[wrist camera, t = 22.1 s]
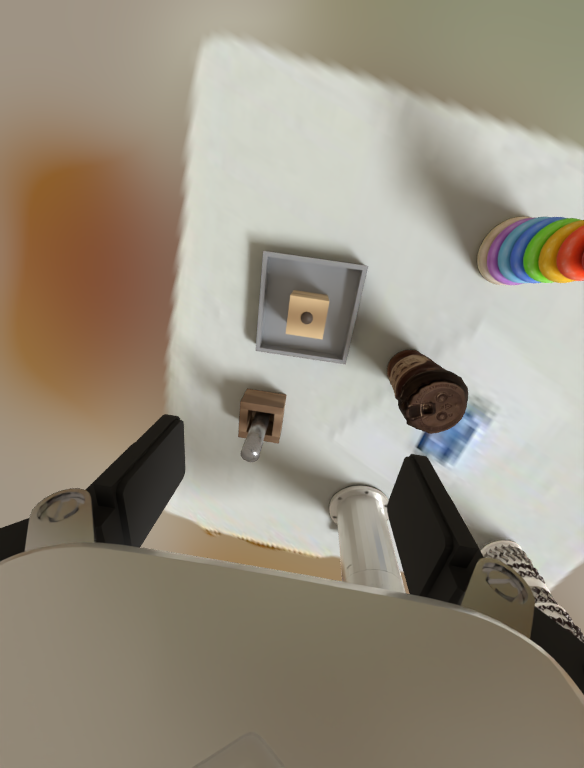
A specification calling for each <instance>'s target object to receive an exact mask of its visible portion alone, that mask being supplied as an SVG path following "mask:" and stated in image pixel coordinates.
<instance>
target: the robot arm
mask: <svg viewBox="0 0 584 768" xmlns="http://www.w3.org/2000/svg"><path fill="white" fill-rule="evenodd" d="M184 474H185V449H184V424H183V421H182V420H180V418H179V417H178V416H173V415H166V414H164V415H163V416H162V417H161V418H160V419H159V420H158V421H157V422H156V423H155V424H154V425H152V427H150V428H149V429H148V430H147V431H146V433H144V434H143V435H142V437H140V438H139V439H138V440H137V442H135V443H133V444H132V445H131V446H130V447H129V448H128V449H127V450H126V451H125V452H124V453H123V454H122V455H121V456H120V457H119V458H118V459H117V460H116V461H114V463H112V464H111V465H110V466H109V467H108V469H106V470H105V471H104V472H103V473H102V474H101V475H100V476H99V477H98V478H97V479H96V480H95V481H94V482H93V483H92V484H91V485H90V486H89V487H88V488H87V489H86V490H84V489H80V488H70V489H65V490H61V491H58V492H56V493H53V494H51V495H49V496H48V497H46V498H44V499H43V500H42V501H40V502H39V503H38V504H37V505H36V506H35V507H34V508H33V510H32V512H31V514H30V517H29V518H28V519H25V520H23V521H20V522H17V523H14V524H11V525H9V526H5V527H3V528H0V768H584V643H583V642H582V641H581V640H579V639H578V638H577V637H575V636H574V635H573V634H571V633H570V632H569V631H567V630H566V629H565V628H563V627H562V626H561V625H559V624H558V623H557V622H555V621H554V620H553V619H552V618H550V617H549V616H548V615H546V614H545V613H544V612H542V611H541V610H540V609H538V608H537V607H536V606H535V600H534V595H533V593H532V590H531V588H530V587H529V585H528V584H527V583H526V581H525V580H524V579H523V578H522V577H521V576H520V575H519V574H518V573H517V572H516V571H515V570H513V569H512V568H511V567H510V566H508V565H506V564H505V563H503V562H501V561H499V560H496V559H493V558H486V557H485V558H484V556H483V555H482V553H481V551H480V549H479V548H478V546H477V544H476V542H475V540H474V539H473V537H472V535H471V533H470V532H469V530H468V528H467V526H466V524H465V523H464V521H463V519H462V517H461V516H460V514H459V512H458V510H457V508H456V507H455V505H454V503H453V501H452V500H451V498H450V496H449V495H448V493H447V491H446V490H445V488H444V486H443V484H442V482H441V481H440V479H439V477H438V475H437V474H436V472H435V470H434V468H433V466H432V465H431V463H430V461H429V459H428V458H427V457H426V456H421V455H415V454H411V455H410V456H409V457H405V459H404V461H403V464H402V467H401V469H400V472H399V475H398V477H397V480H396V483H395V485H394V488H393V490H392V493H391V496H390V498H389V500H388V498H387V497H386V496H385V494H383V493H382V492H381V491H379V490H377V489H375V488H372V487H368V486H352V487H347V488H345V489H342V490H341V491H339V492H338V493H336V494H335V495H334V496H333V498H332V499H331V501H330V505H329V513H330V516H331V518H332V520H333V521H334V522H335V523H336V524H337V525H338V533H339V545H340V558H341V570H342V582H341V581H336V580H330V579H325V578H319V577H313V576H308V575H302V574H296V573H290V572H285V571H279V570H273V569H267V568H261V567H256V566H250V565H244V564H238V563H233V562H227V561H221V560H215V559H208V558H202V557H197V556H191V555H185V554H179V553H173V552H167V551H160V550H154V549H147V548H140V547H141V545H142V543H143V542H144V540H145V539H146V537H147V535H148V534H149V532H150V531H151V529H152V527H153V526H154V524H155V523H156V521H157V519H158V518H159V516H160V515H161V513H162V511H163V510H164V508H165V507H166V505H167V503H168V502H169V500H170V499H171V497H172V495H173V494H174V492H175V490H176V489H177V487H178V486H179V484H180V482H181V481H182V479H183V477H184ZM388 519H389V521H390V524H391V528H392V532H393V535H394V539H395V542H396V546H397V550H398V553H399V557H400V560H401V564H402V568H403V571H404V575H405V578H406V582H407V586H408V589H409V593H410V594H406V593H405V589H404V586H403V581H402V578H401V574H400V570H399V566H398V562H397V559H396V555H395V551H394V547H393V543H392V540H391V536H390V532H389V528H388V525H387V520H388Z"/></svg>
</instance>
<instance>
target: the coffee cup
mask: <svg viewBox="0 0 584 768" xmlns="http://www.w3.org/2000/svg"><path fill="white" fill-rule="evenodd" d="M387 376H388V377H389V380H390V384H391V385H392V387H393V390H394V393H395V398H396V399H397V400H398V406H399V409H400V411H401V413H402V414H403V416H404V418H405V419H406V420H407V424H408V425H410V426H412V427H414V428H416V429H419V430H422V431H425V432H427V433H431V434H432V433H438V432H442V431H445V430H448V429H450V428H451V427H453V426H455V425H456V424H457V423H458V422H459V421H460V420H461V419H462V417H463V415H464V413H465V410H466V407H467V401H468V388H467V386H466V385H465V383H464V382H463V380H462V378H461V377H459V376H457V375H456V374H454V373H452V372H450V371H447V370H445V369H443V368H442V367H441V366H439V365H438V364H436V363H435V362H433V361H432V360H431V359H430V358H428V357H426V356H425V355H423V354H421V353H419V352H418V351H416V350H404V351H401V352H399V353H397V354H396V355H395V356H394V357H393V358H392V359H391V360H390V362H389V364H388V368H387Z"/></svg>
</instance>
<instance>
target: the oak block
mask: <svg viewBox="0 0 584 768" xmlns="http://www.w3.org/2000/svg"><path fill="white" fill-rule="evenodd" d="M328 307H329V298H328V295H324V294H318V293H311V292H304V291H298V290H293V292H292V294H291V295H290V302H289V310H288V318H287V326H286V334H290V335H296V336H303V337H309V338H316V339H323V334H324V328H325V323H326V318H327V312H328Z"/></svg>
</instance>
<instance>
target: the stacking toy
mask: <svg viewBox="0 0 584 768" xmlns="http://www.w3.org/2000/svg"><path fill="white" fill-rule="evenodd" d="M477 263H478V268H479V271H480V273H481V275H482V276H483V277H484V278H485V279H486V280H487V281H489V282H491V283H494V284H498V285H519V284H523V283H541V282H543V283H552V282H558V283H567V282H572V281H584V220H580V219H574V218H563V217H538V218H531V217H515V218H511V219H508V220H506V221H504V222H502V223H500V224H499V225H497V226H496V227H495V228H494V229H493V230H492V231H491V232H490V233H489V234H488V235H487V236H486V237H485V239H484V241H483V242H482V244H481V246H480V249H479V252H478V258H477Z"/></svg>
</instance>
